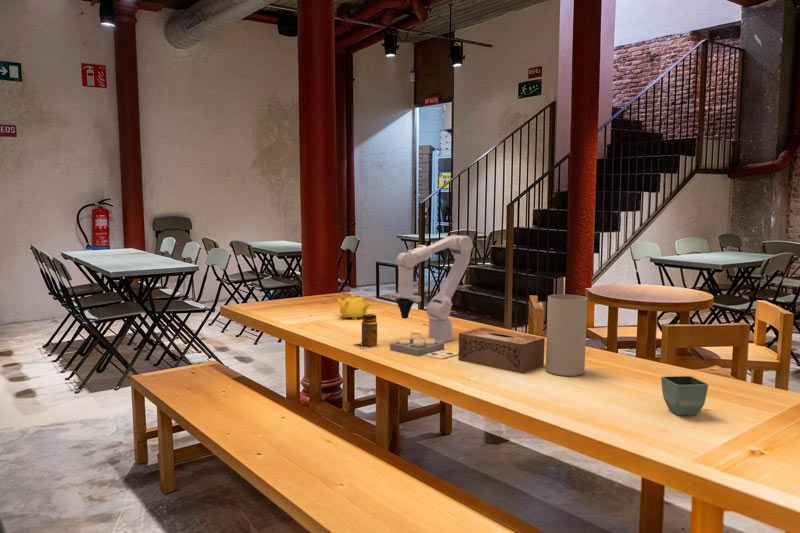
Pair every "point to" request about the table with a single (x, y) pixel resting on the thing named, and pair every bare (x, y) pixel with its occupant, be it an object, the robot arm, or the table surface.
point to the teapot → (353, 307)
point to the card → (442, 354)
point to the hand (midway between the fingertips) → (404, 318)
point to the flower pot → (684, 394)
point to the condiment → (369, 331)
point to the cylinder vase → (566, 334)
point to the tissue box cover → (501, 349)
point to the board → (416, 351)
